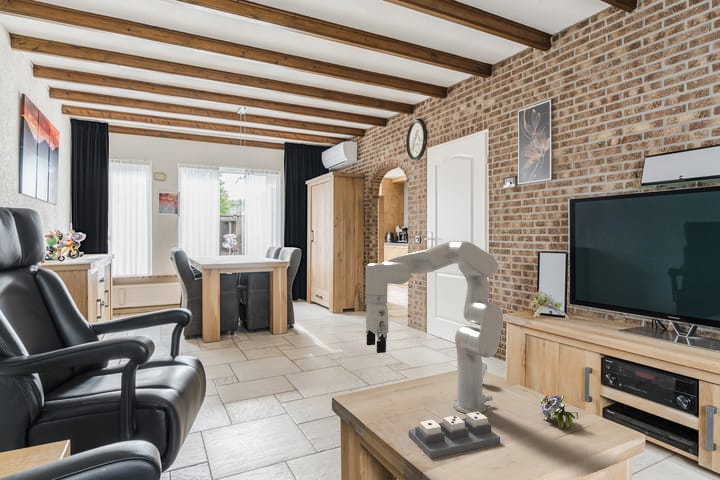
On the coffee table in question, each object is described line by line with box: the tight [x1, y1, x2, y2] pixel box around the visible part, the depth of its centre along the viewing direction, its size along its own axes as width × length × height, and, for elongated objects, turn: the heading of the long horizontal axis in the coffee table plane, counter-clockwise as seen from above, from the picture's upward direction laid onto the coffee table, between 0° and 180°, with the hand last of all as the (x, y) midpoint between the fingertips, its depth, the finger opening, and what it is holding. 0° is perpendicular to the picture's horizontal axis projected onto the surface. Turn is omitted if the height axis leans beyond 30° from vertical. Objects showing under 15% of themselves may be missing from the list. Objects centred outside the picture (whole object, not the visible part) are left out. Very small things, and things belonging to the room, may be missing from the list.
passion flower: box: [540, 394, 579, 430], centre depth 143 cm, size 11×11×12 cm
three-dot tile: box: [442, 415, 465, 431], centre depth 130 cm, size 5×5×3 cm
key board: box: [408, 417, 501, 459], centre depth 130 cm, size 26×14×4 cm, turn 110°
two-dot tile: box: [465, 412, 489, 427], centre depth 133 cm, size 5×5×3 cm
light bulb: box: [482, 359, 488, 384], centre depth 180 cm, size 7×7×11 cm
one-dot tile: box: [418, 419, 441, 436], centre depth 127 cm, size 5×5×3 cm
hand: (375, 348), depth 136 cm, fingers open, 9 cm apart
